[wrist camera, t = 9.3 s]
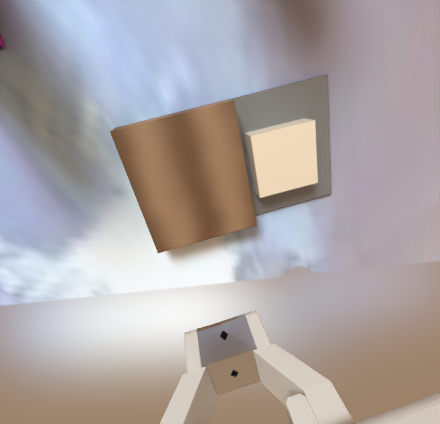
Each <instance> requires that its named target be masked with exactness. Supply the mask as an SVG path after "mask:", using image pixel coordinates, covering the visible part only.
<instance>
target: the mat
mask: <svg viewBox="0 0 440 424" xmlns="http://www.w3.org/2000/svg"><path fill="white" fill-rule="evenodd" d="M229 100H234V102H235V108H236V113H237V119H238V124H239V130H240V135H241V141H242V146H243V152H244V157H245V163H246V168H247V174H248V179H249V185H250V190H251V196H252V201H253V207H254V213H255V215H257V214H260V213H264V212H267V211H271V210H274V209H278V208H282V207H285V206H289V205H292V204H296V203H299V202H303V201H307V200H310V199H314V198H317V197H321V196H324V195H328V194H332V190H331V160H330V129H329V99H328V75H324V76H320V77H316V78H312V79H308V80H304V81H300V82H296V83H292V84H288V85H284V86H280V87H276V88H272V89H268V90H264V91H260V92H256V93H252V94H248V95H244V96H240V97H236V98H233V99H229ZM303 118H306V119H311V120H315V127H316V150H317V172H318V183H315V184H311V185H307V186H303V187H300V188H296V189H292V190H288V191H284V192H281V193H277V194H273V195H269V196H266V197H262V198H260V197H259V196H258V195H257V194H256V193H255V191H254V189H253V182H252V176H251V170H250V164H249V158H248V152H247V145H246V139H245V133H246V132H250V131H254V130H258V129H262V128H266V127H270V126H275V125H279V124H283V123H287V122H291V121H295V120H299V119H303Z"/></svg>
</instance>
